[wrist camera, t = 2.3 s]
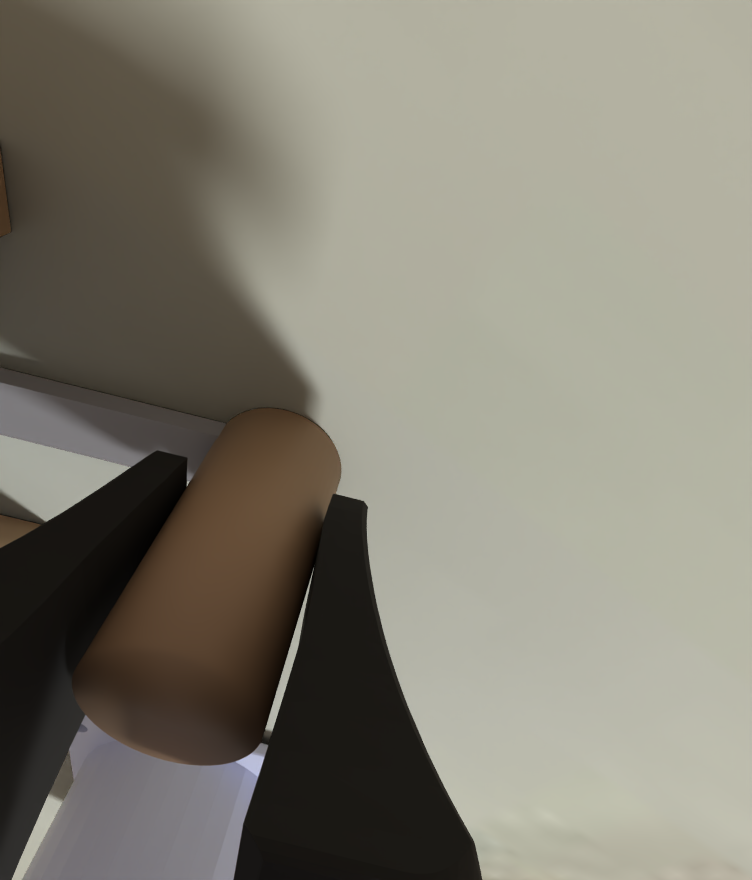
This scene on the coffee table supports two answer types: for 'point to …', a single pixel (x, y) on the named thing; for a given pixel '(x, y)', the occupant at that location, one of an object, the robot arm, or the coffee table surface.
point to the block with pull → (194, 565)
